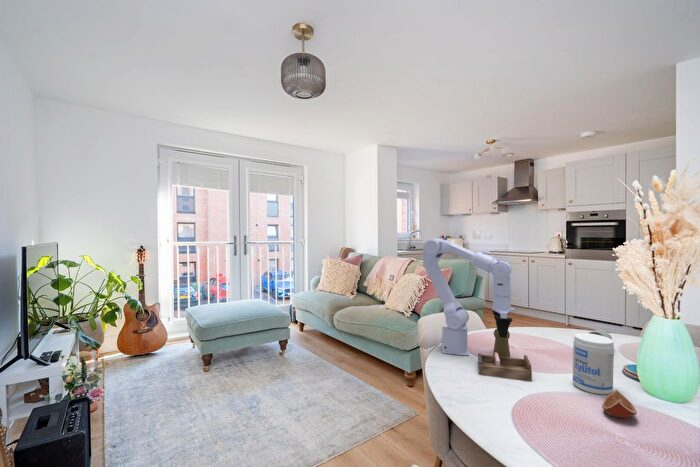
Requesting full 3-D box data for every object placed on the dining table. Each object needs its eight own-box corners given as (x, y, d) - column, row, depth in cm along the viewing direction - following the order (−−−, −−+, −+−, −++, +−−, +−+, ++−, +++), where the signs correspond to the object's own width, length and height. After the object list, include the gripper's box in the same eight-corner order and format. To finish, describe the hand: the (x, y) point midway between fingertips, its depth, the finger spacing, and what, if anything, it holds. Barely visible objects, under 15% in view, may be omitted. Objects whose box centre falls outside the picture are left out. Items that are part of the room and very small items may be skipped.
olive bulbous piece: (507, 357, 121) (507, 326, 121) (513, 363, 115) (513, 332, 115) (490, 356, 122) (490, 326, 122) (495, 363, 116) (495, 331, 115)
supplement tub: (570, 388, 97) (570, 338, 97) (574, 377, 104) (574, 330, 104) (613, 399, 91) (613, 345, 91) (614, 386, 98) (614, 336, 98)
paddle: (496, 372, 106) (496, 360, 106) (494, 363, 113) (494, 352, 113) (499, 372, 106) (499, 361, 106) (497, 363, 113) (497, 352, 113)
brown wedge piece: (602, 404, 88) (602, 385, 88) (635, 412, 84) (635, 392, 84) (602, 418, 82) (602, 398, 82) (638, 428, 78) (638, 407, 78)
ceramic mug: (613, 349, 128) (613, 329, 128) (608, 355, 122) (608, 334, 122) (581, 343, 136) (580, 324, 136) (574, 348, 130) (574, 328, 130)
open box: (479, 374, 107) (479, 360, 107) (478, 362, 116) (477, 349, 116) (531, 381, 102) (531, 366, 102) (526, 368, 111) (526, 354, 111)
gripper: (517, 300, 110) (517, 341, 110) (511, 292, 124) (511, 328, 124) (494, 298, 112) (494, 339, 112) (490, 291, 126) (490, 327, 126)
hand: (501, 333), depth 118 cm, fingers open, 7 cm apart
